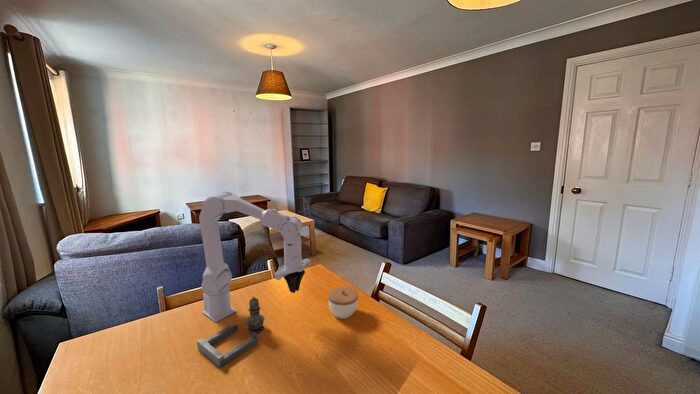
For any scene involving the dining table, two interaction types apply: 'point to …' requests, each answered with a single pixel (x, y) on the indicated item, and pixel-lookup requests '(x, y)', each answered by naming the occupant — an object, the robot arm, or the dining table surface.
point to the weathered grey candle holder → (255, 318)
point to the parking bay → (221, 359)
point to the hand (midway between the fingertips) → (294, 290)
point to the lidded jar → (343, 301)
